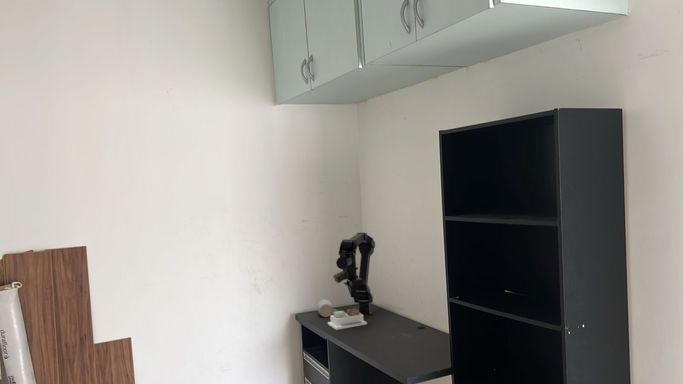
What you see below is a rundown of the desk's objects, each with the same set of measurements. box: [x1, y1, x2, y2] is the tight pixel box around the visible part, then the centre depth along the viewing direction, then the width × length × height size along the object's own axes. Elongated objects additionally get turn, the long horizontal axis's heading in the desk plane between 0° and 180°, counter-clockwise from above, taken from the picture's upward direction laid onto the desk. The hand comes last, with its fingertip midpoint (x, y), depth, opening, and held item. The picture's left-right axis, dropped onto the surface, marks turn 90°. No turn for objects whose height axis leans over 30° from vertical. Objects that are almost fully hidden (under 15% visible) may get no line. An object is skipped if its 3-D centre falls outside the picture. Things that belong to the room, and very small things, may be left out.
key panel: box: [327, 312, 368, 331], centre depth 263 cm, size 11×16×4 cm
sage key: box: [333, 310, 347, 318], centre depth 264 cm, size 4×4×3 cm
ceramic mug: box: [316, 299, 338, 318], centre depth 282 cm, size 11×8×8 cm
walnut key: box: [346, 307, 359, 316], centre depth 266 cm, size 4×4×3 cm
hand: (352, 297), depth 266 cm, fingers closed
